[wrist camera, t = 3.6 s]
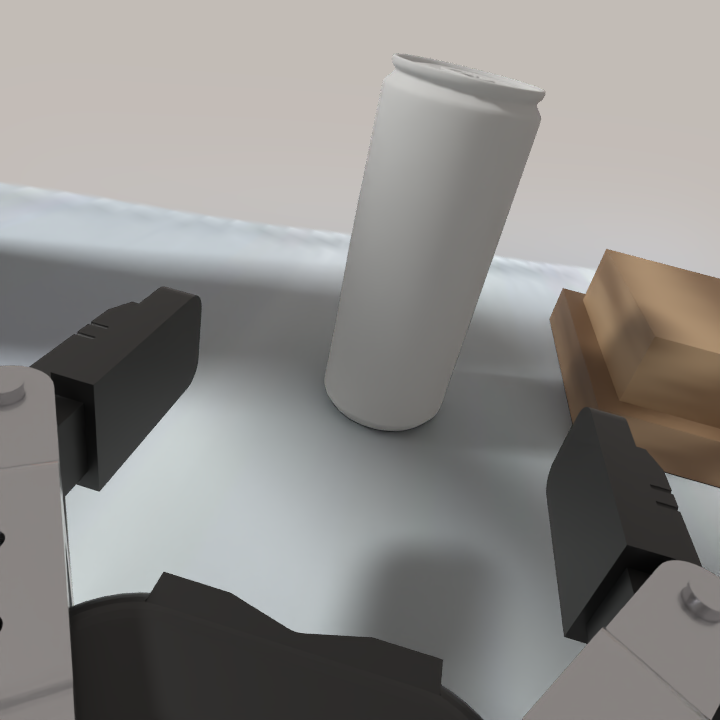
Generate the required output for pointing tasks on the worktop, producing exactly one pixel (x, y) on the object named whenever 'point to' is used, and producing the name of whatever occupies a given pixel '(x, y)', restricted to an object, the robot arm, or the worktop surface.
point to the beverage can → (425, 234)
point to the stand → (647, 358)
